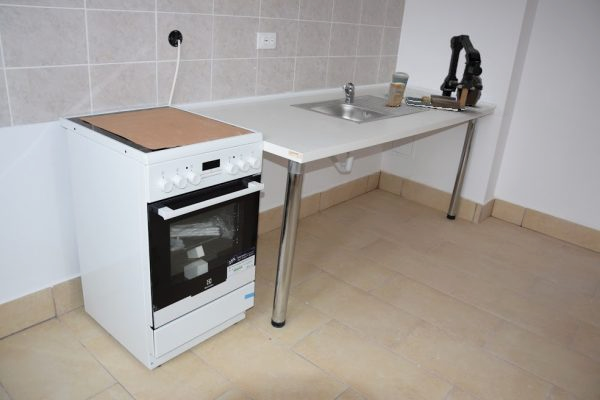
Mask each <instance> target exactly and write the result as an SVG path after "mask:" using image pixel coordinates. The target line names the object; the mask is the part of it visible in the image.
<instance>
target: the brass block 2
mask: <svg viewBox="0 0 600 400" xmlns="http://www.w3.org/2000/svg"><path fill="white" fill-rule="evenodd" d="M430 98H431V97H429V98H423V102H422V103H429V104H430V103H431V99H430Z"/></svg>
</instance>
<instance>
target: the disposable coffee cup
mask: <svg viewBox="0 0 600 400" xmlns="http://www.w3.org/2000/svg"><path fill="white" fill-rule="evenodd" d="M391 78H392V79H391V80H392V82H391V83H403V84H405V89H404V92H405V91H406V88H407V84H408V81H409V78H410V76H409V74H408V73H406V72H404V71H403V72H402V71H394V72H393V73H392V74H391Z"/></svg>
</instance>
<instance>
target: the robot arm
mask: <svg viewBox="0 0 600 400" xmlns="http://www.w3.org/2000/svg"><path fill="white" fill-rule="evenodd" d="M449 41H450V46H449V47H450V49H451V54H450V61H449V68H448V72H447V75H446V77H444V80H443V82H442V83H441V85H440V87H439V88H440V89H439V90H440V91H442V92H441V93H442V94H441V96H448V97H452V93H455V92H457V89H458V93H459V99H460V98H461V92H462V86H463V87H465V88H468V93H467V97H468V96H469V94H470V93H471V92H472V91H475V90H474V89H475V88H476V89H477V90H481V91H483V89H484V88H483V87H484V86H483V84H482V85H481V84H477V82H478V81H477V80H473V75H474V76H480V77H481V75H482V73H483V69H482V68H483V67H481V65H482V57H481V54H480V51H479V50H478V49H476V48H475V47H474V45H473V43H472V40H471V39H470V35H469V34H460V35H453V36H452V37H451V38H450V40H449ZM463 49H464V52H465V55H464V57H465V62H464V64H465V66H464V70H463V74H462V78H461V80H462V81H461V80H460V82H461V83H460V82H459V78H457V72H458V66H459V60H460V54H461V51H462V50H463ZM467 97H466V99H467Z"/></svg>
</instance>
